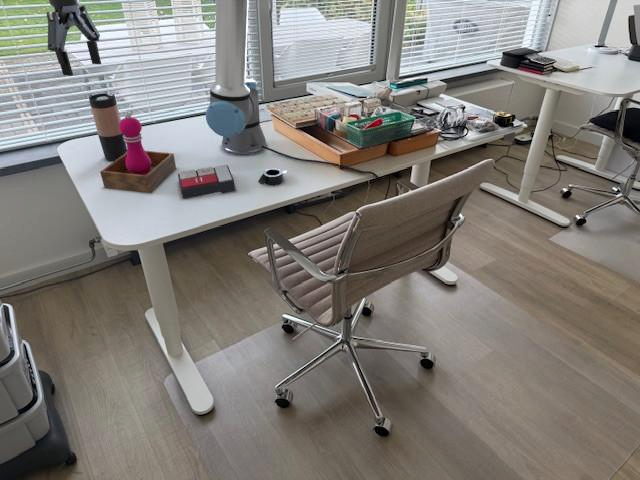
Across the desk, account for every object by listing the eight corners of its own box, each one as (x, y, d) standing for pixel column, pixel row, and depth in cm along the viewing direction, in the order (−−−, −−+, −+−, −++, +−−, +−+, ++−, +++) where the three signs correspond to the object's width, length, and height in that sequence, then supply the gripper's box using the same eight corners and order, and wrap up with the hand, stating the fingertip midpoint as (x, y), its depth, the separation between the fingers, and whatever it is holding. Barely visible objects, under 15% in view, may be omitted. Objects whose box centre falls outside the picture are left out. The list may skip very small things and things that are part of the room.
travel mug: (106, 163, 148) (89, 102, 137) (103, 155, 153) (87, 95, 142) (131, 159, 151) (116, 98, 140) (127, 151, 156) (113, 92, 145)
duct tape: (292, 185, 138) (291, 176, 136) (259, 188, 136) (258, 179, 134) (286, 173, 144) (286, 165, 142) (254, 177, 142) (254, 168, 140)
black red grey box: (177, 171, 136) (227, 162, 140) (180, 183, 139) (229, 175, 142) (180, 187, 127) (233, 178, 131) (183, 201, 130) (235, 191, 134)
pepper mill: (157, 172, 143) (145, 109, 131) (148, 183, 137) (134, 117, 125) (135, 171, 143) (120, 107, 132) (124, 181, 137) (108, 116, 126)
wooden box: (176, 168, 146) (173, 153, 143) (150, 193, 132) (146, 176, 129) (134, 164, 148) (130, 149, 145) (104, 188, 134) (99, 171, 131)
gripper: (77, -16, 137) (97, 59, 148) (15, -7, 116) (43, 79, 128) (100, -16, 135) (118, 60, 147) (41, -6, 115) (66, 81, 127)
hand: (83, 69), depth 138 cm, fingers open, 13 cm apart
